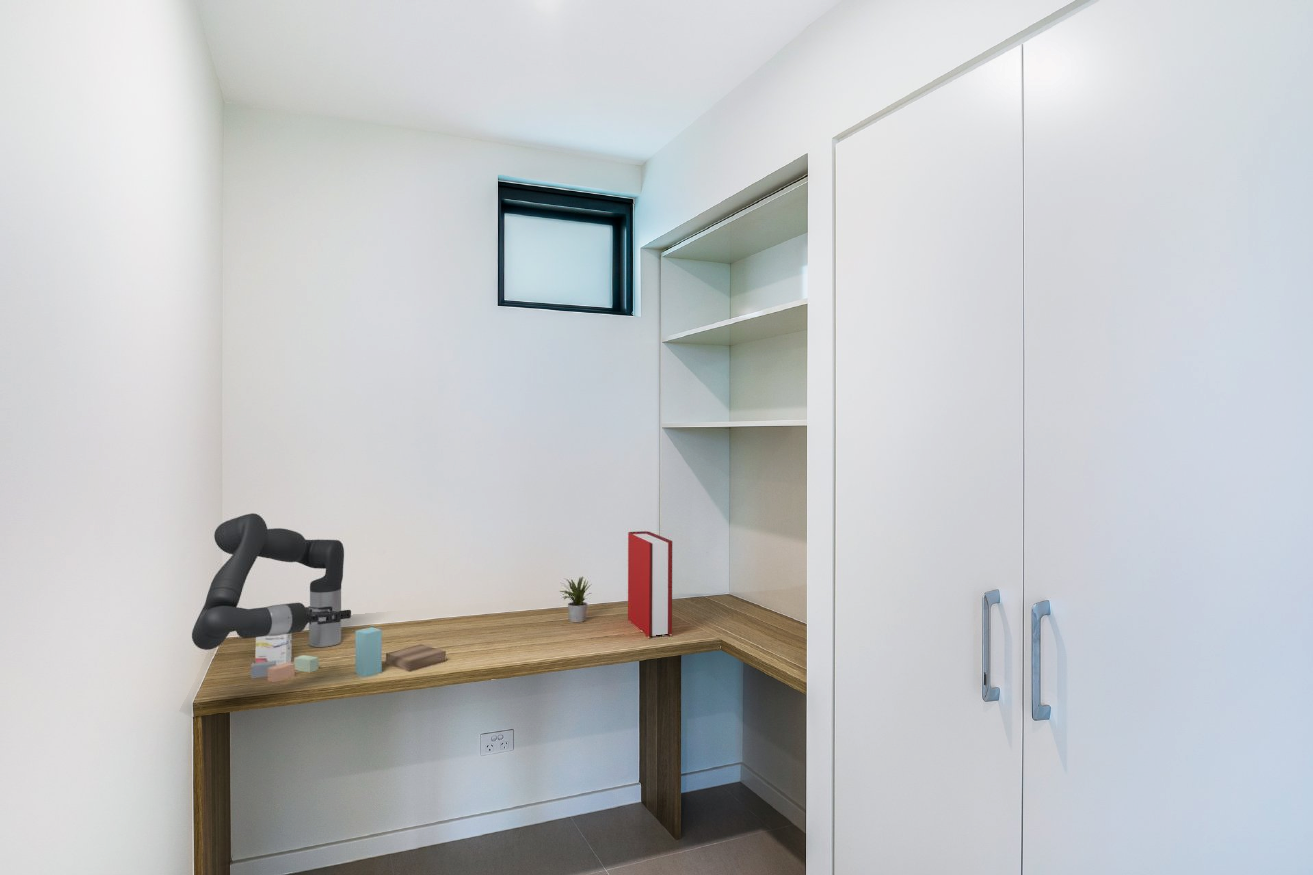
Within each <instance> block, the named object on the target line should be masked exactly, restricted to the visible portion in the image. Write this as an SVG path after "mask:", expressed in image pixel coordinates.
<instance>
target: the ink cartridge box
mask: <svg viewBox="0 0 1313 875" xmlns="http://www.w3.org/2000/svg"><path fill="white" fill-rule="evenodd" d="M292 634H293V633H291V634H284V635H277V636H262V637H255V650H254V651H255V659H254V660H255V661H254V663H259V662H269V661H276V665H280V664H283V663H286V662H289V663H292V642H293V641H292Z"/></svg>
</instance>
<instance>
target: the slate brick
mask: <svg viewBox="0 0 1313 875" xmlns="http://www.w3.org/2000/svg"><path fill="white" fill-rule="evenodd" d="M273 666H276V661H269V662H259V663H255V662H252V663H251V665H250V679H260V678H268V668H270V667H273Z"/></svg>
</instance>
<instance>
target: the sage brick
mask: <svg viewBox="0 0 1313 875" xmlns="http://www.w3.org/2000/svg"><path fill="white" fill-rule="evenodd" d="M319 659H320V658H319V656H313V655H311V656H310V655H304V654H302V655H299V656H296V657H294V658H293V663H294V664H295V671H300V672H306V673H311V672H314V671H317V670H318V671H319V668H320V667H319V664H320V663H319V662H320V660H319Z"/></svg>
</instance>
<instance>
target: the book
mask: <svg viewBox="0 0 1313 875" xmlns="http://www.w3.org/2000/svg"><path fill="white" fill-rule="evenodd" d="M627 533H628V534H627V535H628V537H627V538H628V539H627V542H628V543H627V554H628V555H627V621H628V620H629V621H631V622H630V623H631V624H632V623H633V624H634V625H635V626H637V627H638V628H639V629H640V630H642V631H643V632H644V633H645V634H646V635H647V636H649V637H651V636H652V637H657V636H656V635H661V634H672V635H673V540H671V539H668V538H666V537H663V536H661V535H659V534H656V533H654V532H651V531H646V530H645V531H642V530H641V531H628V532H627ZM629 621H628V622H629ZM633 624H632V625H633ZM634 625H633V626H634ZM635 626H634V627H635ZM639 629H638V630H639ZM640 630H639V631H640ZM646 635H645V636H646ZM647 636H646V637H647ZM652 637H651V638H652Z"/></svg>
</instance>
